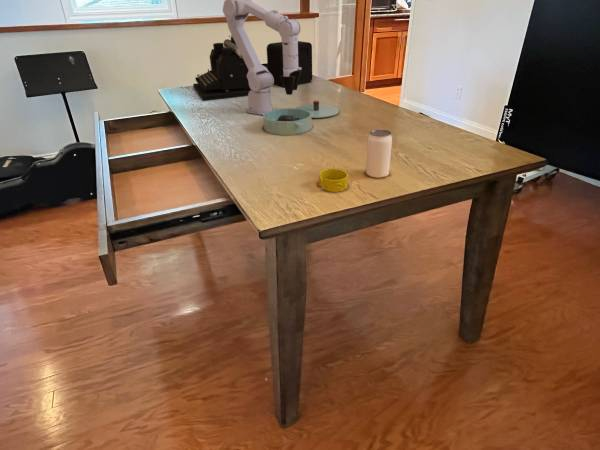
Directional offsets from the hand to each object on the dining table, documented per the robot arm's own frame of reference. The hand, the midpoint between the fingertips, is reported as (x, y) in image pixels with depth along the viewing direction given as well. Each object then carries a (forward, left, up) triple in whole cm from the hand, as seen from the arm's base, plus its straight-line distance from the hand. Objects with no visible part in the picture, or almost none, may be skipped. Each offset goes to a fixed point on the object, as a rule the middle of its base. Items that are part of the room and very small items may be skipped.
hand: (291, 92), depth 162 cm
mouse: (+6, -12, -10) cm, 16 cm away
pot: (+6, -12, -10) cm, 17 cm away
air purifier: (-38, +53, -10) cm, 66 cm away
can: (+53, -35, -10) cm, 64 cm away
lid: (+5, +10, -9) cm, 15 cm away
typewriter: (-57, +22, -10) cm, 62 cm away
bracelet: (+46, -48, -10) cm, 67 cm away
